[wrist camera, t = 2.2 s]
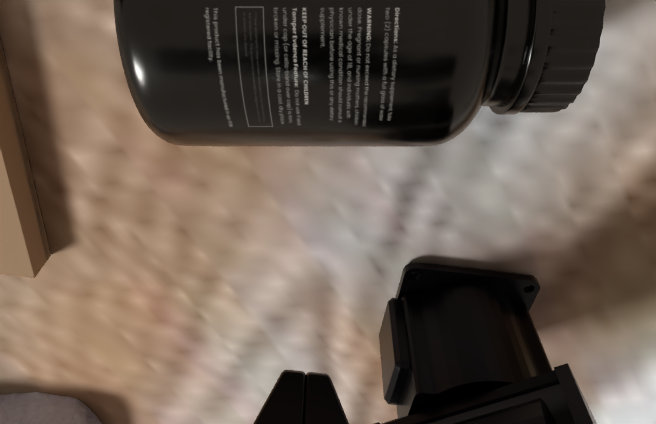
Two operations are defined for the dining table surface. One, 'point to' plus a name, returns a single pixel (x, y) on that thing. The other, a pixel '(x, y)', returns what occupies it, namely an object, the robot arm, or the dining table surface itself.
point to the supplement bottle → (349, 67)
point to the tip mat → (17, 193)
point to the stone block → (44, 409)
